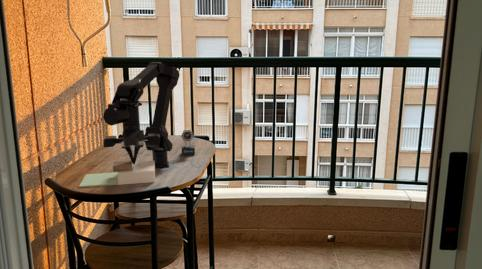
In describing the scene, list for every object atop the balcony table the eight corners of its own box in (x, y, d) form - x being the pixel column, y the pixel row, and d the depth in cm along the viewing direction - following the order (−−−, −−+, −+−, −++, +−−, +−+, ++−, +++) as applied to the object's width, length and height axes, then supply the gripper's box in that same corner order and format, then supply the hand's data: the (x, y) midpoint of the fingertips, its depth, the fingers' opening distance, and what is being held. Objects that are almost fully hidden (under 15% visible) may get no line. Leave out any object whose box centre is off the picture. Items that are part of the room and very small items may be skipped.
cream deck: (121, 173, 147) (121, 162, 147) (155, 170, 150) (154, 160, 149) (118, 184, 135) (117, 173, 134) (154, 182, 137) (154, 170, 136)
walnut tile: (115, 164, 144) (114, 159, 144) (132, 163, 145) (132, 158, 145) (113, 172, 136) (112, 166, 135) (131, 170, 137) (131, 165, 136)
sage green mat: (86, 175, 145) (85, 174, 145) (121, 173, 147) (121, 171, 147) (79, 187, 133) (79, 186, 132) (118, 184, 135) (118, 183, 135)
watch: (181, 156, 169) (180, 131, 167) (182, 151, 177) (181, 127, 175) (194, 156, 170) (194, 130, 167) (195, 151, 178) (194, 127, 175)
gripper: (99, 125, 128) (103, 172, 131) (158, 123, 132) (161, 168, 135) (103, 120, 139) (107, 163, 142) (158, 117, 143) (160, 159, 146)
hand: (134, 163), depth 141 cm, fingers closed
